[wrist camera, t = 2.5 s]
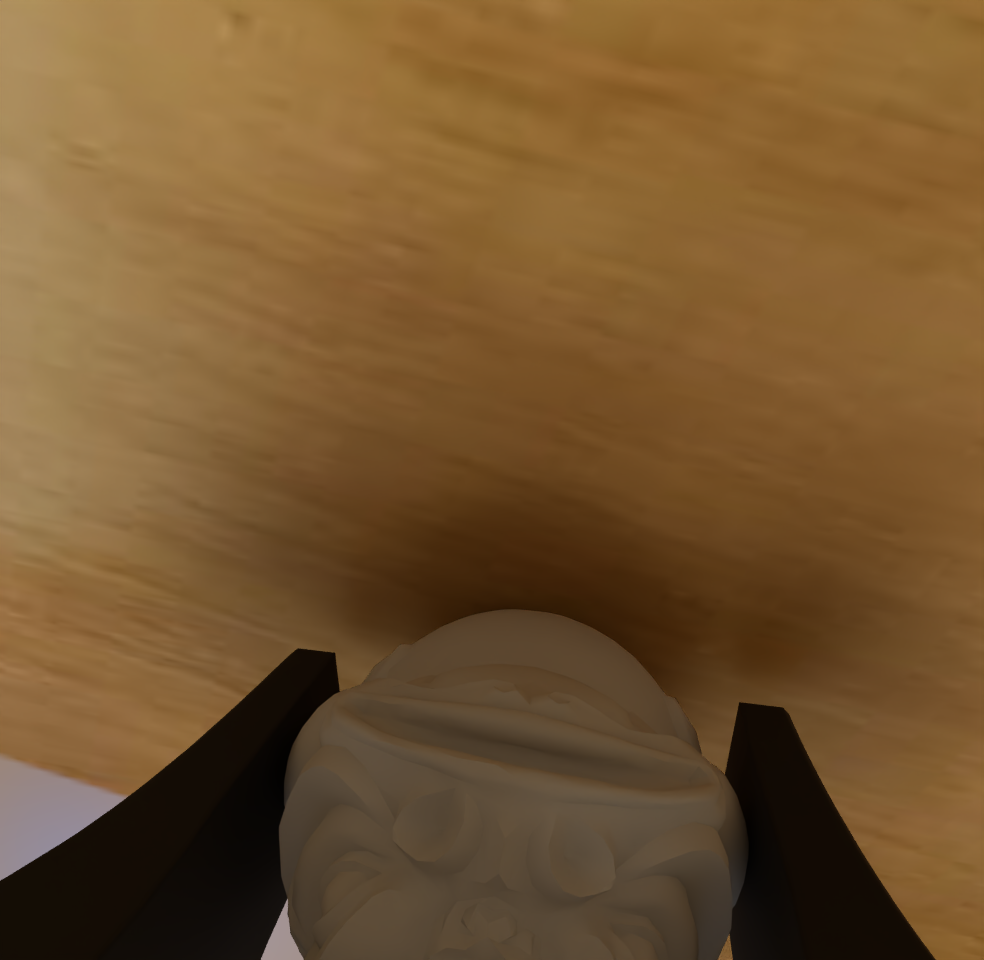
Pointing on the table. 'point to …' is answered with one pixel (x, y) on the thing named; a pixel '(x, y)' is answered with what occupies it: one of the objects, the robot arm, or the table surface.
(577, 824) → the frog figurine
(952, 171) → the table surface
